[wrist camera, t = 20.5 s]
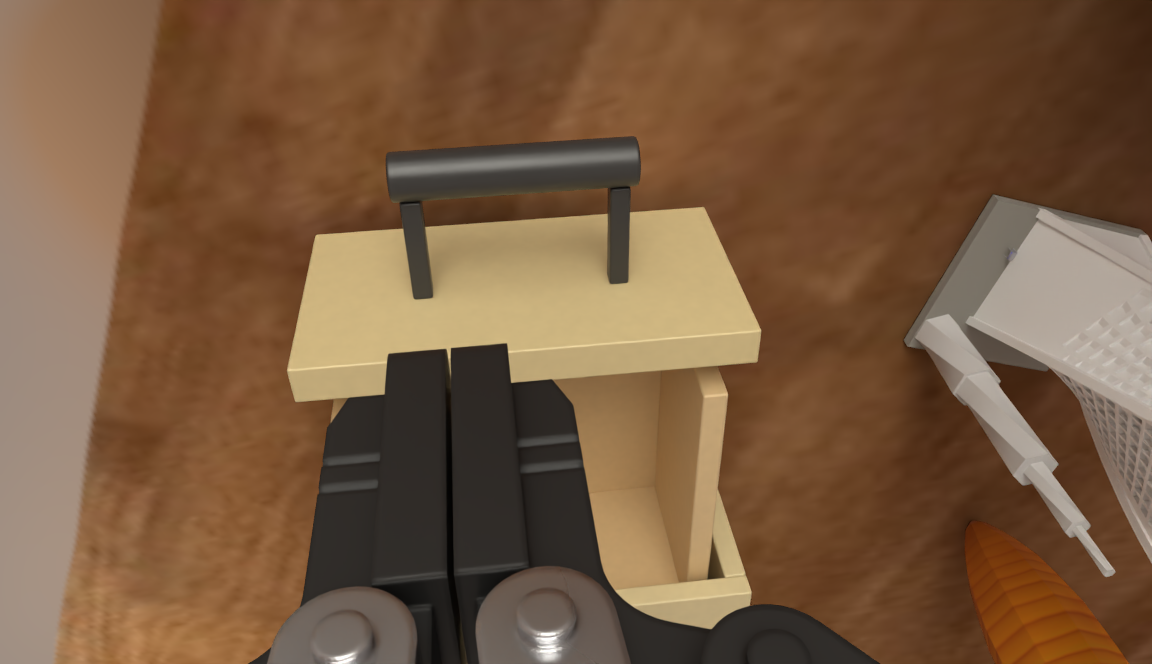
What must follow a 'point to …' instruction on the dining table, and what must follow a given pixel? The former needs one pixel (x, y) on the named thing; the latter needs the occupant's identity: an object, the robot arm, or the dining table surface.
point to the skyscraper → (1053, 344)
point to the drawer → (554, 327)
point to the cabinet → (700, 585)
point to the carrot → (1029, 605)
